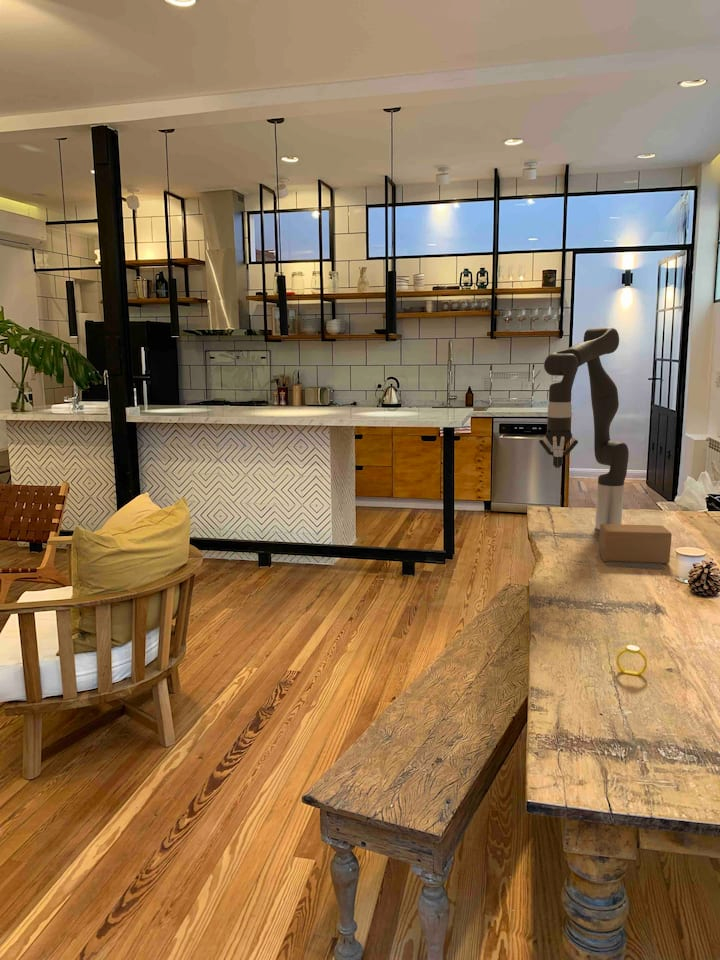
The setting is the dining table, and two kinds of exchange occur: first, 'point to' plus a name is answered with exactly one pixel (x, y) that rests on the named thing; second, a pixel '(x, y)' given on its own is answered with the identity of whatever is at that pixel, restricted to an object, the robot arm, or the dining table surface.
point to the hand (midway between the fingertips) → (557, 467)
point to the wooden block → (635, 543)
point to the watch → (632, 650)
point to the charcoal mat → (636, 565)
